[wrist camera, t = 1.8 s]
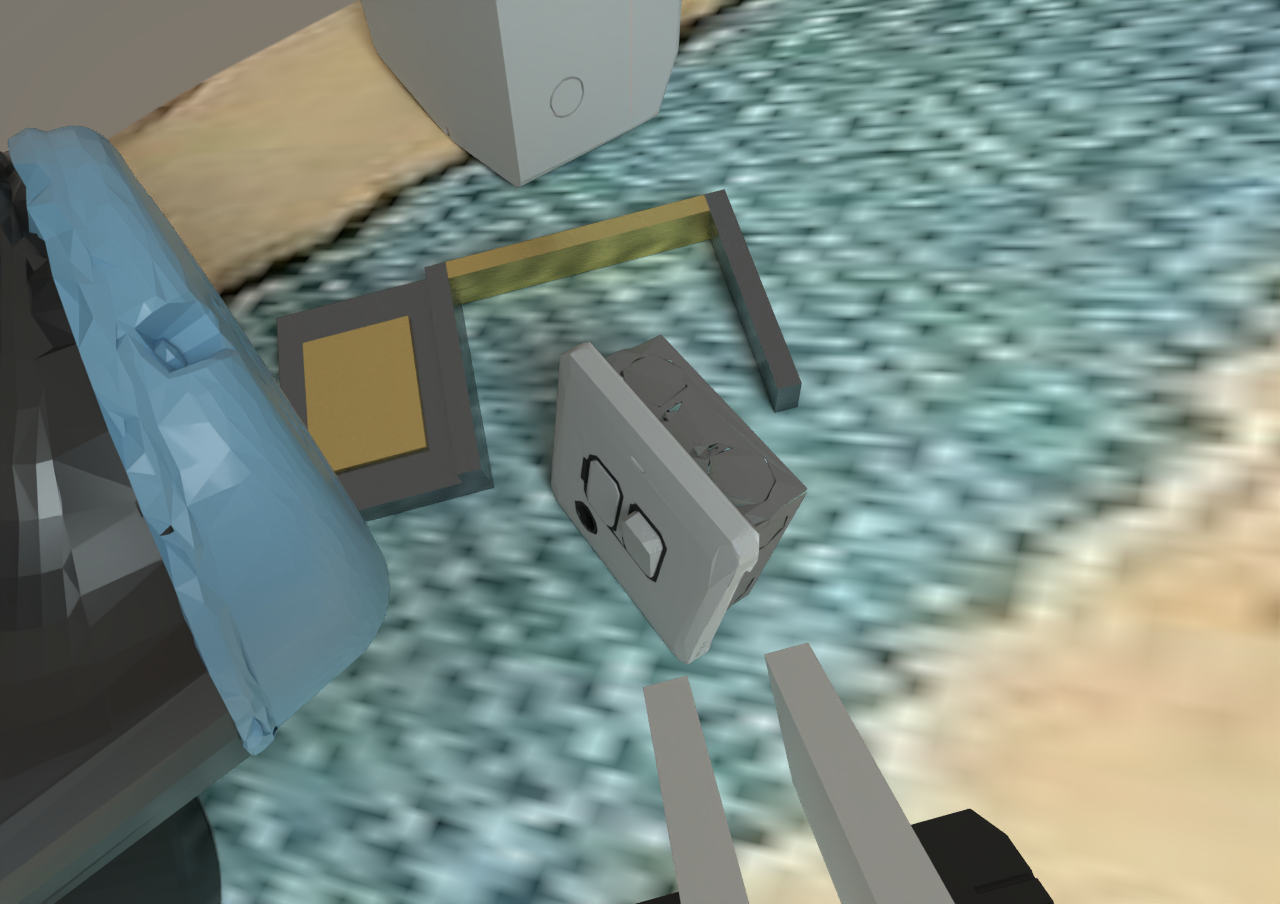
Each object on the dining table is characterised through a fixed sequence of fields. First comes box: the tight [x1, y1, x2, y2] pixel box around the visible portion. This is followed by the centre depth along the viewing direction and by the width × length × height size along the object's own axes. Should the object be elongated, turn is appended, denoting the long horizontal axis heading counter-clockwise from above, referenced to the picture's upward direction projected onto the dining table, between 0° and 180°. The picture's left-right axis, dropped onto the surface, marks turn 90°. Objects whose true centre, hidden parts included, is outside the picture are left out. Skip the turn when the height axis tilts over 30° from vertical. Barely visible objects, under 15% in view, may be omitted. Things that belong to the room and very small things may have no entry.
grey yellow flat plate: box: [277, 189, 802, 522], centre depth 35 cm, size 22×11×2 cm, turn 104°
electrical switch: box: [551, 335, 807, 664], centre depth 28 cm, size 9×5×9 cm, turn 37°
